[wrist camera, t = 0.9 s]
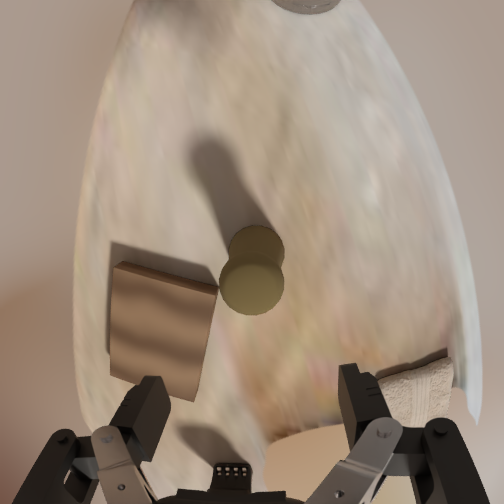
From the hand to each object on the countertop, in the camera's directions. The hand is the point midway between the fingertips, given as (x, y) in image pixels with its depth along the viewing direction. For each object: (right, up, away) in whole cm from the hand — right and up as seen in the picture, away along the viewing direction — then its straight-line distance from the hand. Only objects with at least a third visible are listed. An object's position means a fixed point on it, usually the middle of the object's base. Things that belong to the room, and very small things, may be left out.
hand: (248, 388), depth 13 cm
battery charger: (-3, -30, +31) cm, 44 cm away
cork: (+1, +6, +21) cm, 22 cm away
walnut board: (-11, -4, +24) cm, 27 cm away
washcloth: (+25, -18, +27) cm, 41 cm away
